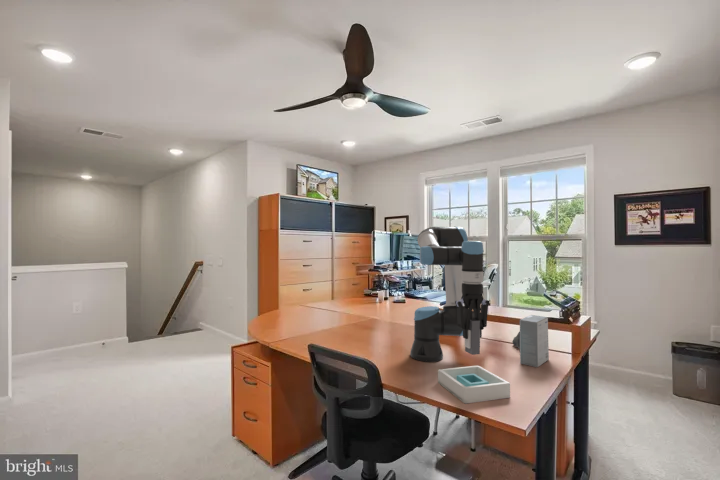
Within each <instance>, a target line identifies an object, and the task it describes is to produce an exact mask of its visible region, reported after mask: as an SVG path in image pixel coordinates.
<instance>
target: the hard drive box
mask: <svg viewBox="0 0 720 480" xmlns="http://www.w3.org/2000/svg"><path fill="white" fill-rule="evenodd" d="M519 332H520V349H519V363H520V364H521V365H526V366H530V367H535V368H539V367H540V366H541V365H543V364H544V363H546V362H547V361H548V360H549V358H550V355H549V353H550V352H549V348H550V347H549V318H548V316H544V315H543V316H542V315H534V314H530V315H528V316H526V317H522V318H521V319H519Z"/></svg>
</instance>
